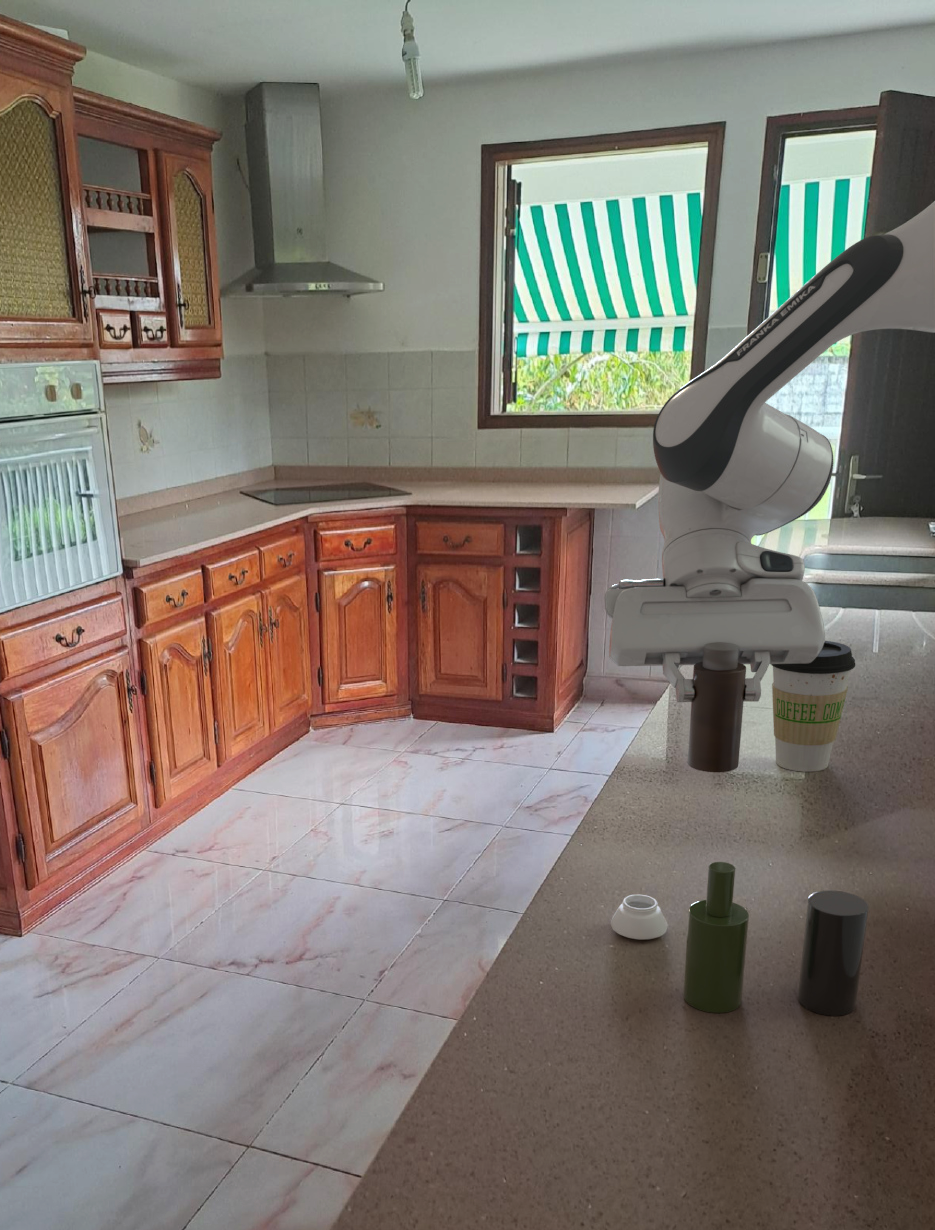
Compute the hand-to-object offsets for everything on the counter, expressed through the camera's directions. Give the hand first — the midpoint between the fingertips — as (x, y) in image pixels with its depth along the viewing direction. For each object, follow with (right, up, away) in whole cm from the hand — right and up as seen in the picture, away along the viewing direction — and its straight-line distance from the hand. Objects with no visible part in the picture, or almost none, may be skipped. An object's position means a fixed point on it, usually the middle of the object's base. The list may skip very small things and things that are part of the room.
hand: (719, 699), depth 108 cm
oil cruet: (-6, -26, -15) cm, 31 cm away
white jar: (-9, -22, -4) cm, 24 cm away
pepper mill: (0, -6, +3) cm, 7 cm away
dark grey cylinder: (+3, -26, -17) cm, 31 cm away
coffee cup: (+22, -6, +34) cm, 41 cm away
